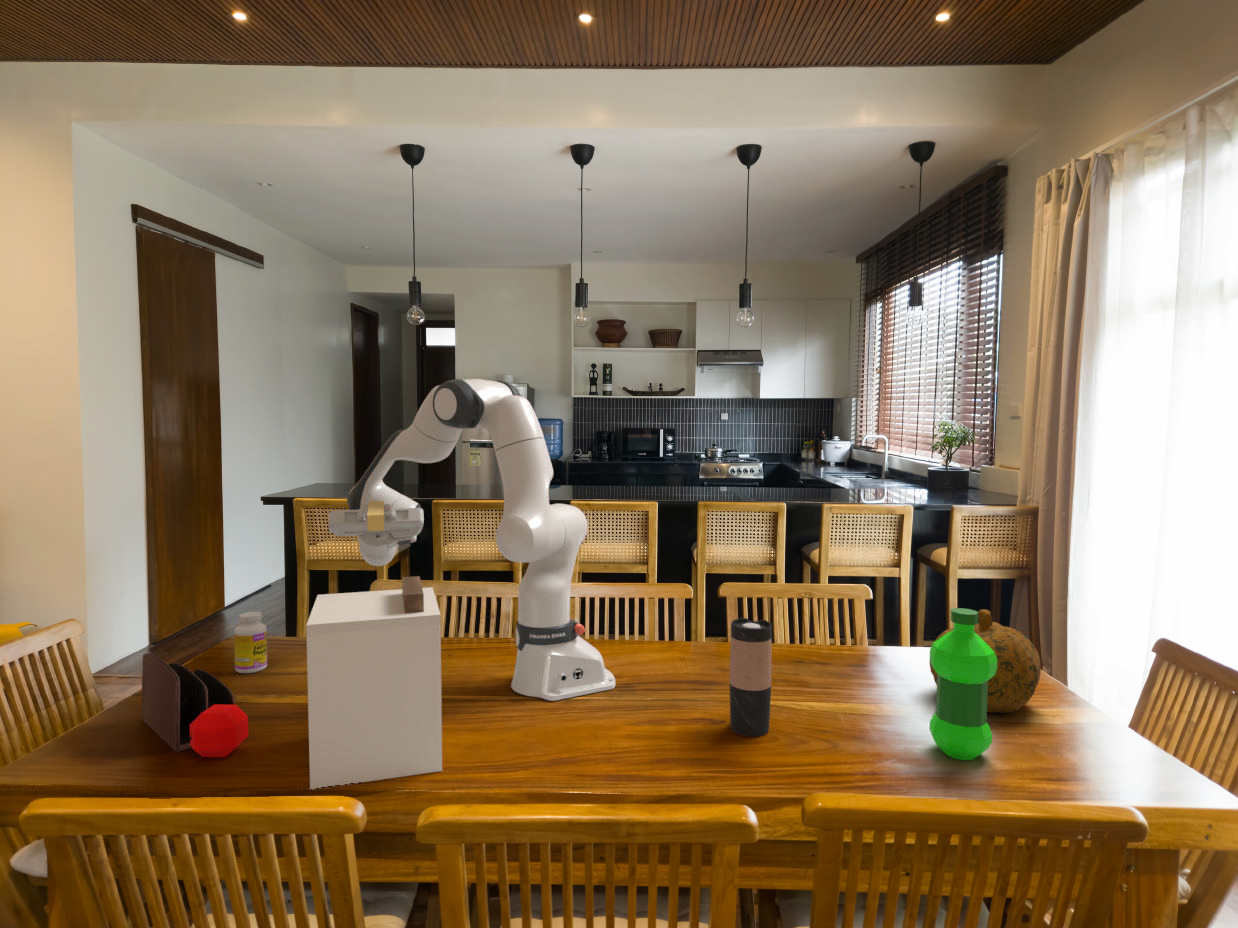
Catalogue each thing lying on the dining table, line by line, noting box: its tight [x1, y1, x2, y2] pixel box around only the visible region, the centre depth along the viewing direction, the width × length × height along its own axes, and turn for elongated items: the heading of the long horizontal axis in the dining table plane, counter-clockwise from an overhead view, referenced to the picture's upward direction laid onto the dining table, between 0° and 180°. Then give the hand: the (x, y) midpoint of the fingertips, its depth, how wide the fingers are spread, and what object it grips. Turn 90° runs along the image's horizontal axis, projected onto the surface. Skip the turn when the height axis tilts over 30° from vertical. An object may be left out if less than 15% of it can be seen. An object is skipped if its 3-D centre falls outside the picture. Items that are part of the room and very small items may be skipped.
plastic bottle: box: [929, 607, 997, 761], centre depth 125 cm, size 10×10×25 cm
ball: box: [190, 704, 250, 758], centre depth 125 cm, size 8×8×8 cm
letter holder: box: [141, 653, 236, 753], centre depth 134 cm, size 10×20×14 cm, turn 48°
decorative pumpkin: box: [929, 608, 1041, 714], centre depth 148 cm, size 20×21×20 cm
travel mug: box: [729, 617, 773, 737], centre depth 135 cm, size 8×8×20 cm
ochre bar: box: [367, 501, 384, 531], centre depth 148 cm, size 3×24×3 cm, turn 18°
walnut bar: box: [401, 575, 424, 613], centre depth 125 cm, size 3×14×3 cm, turn 18°
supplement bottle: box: [233, 611, 268, 674], centre depth 166 cm, size 7×7×13 cm
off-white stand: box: [305, 586, 443, 791], centre depth 124 cm, size 20×20×26 cm
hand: (376, 507), depth 156 cm, fingers closed on ochre bar, 3 cm apart
